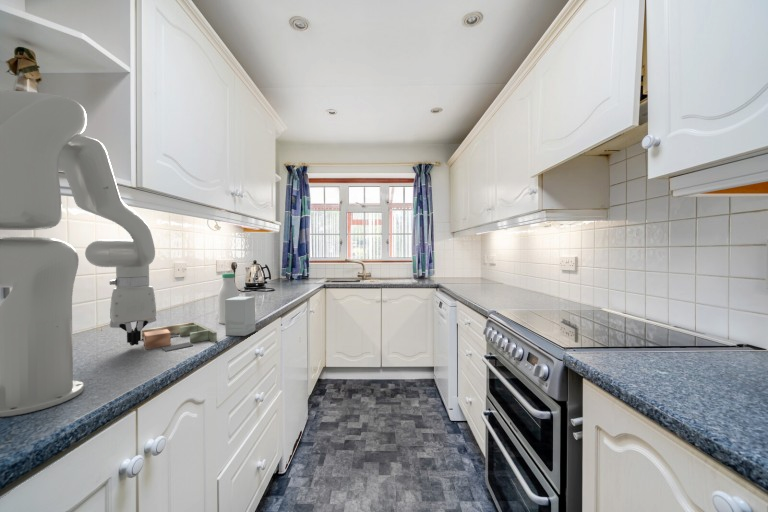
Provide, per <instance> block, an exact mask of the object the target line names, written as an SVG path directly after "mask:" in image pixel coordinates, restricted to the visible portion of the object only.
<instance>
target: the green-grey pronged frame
mask: <svg viewBox="0 0 768 512" xmlns="http://www.w3.org/2000/svg"><path fill="white" fill-rule="evenodd" d="M164 329H168V330H169V332H170V334H174V333H175V334H177V335H178V334H179V336H180V337H187V336H189V343H191V344H192V343H197V342H203V341H210V342H212V343H216V342H217V341H218V337H217V336H218V335H217V333H218V332H217V331H215V330H213V329H211V328H209V327H208V326H207V327H206V326H204V325H203V324H200V323H198V322H191V321H190V322H187V323H177V324H173V325H167V326H166V325H165V326H159V327H151V328H147V329H146V328H145V329H142V330H141V340H142V339H143V340H144V332H150V331H157V330H164Z"/></svg>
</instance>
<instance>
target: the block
mask: <svg viewBox="0 0 768 512" xmlns="http://www.w3.org/2000/svg"><path fill="white" fill-rule="evenodd" d="M144 345H145V346H144ZM143 346H144V348H145V350H148V348H149V349H154V348H153V347H155V348H160V346H161V347H167V346H172V345H171V338H170V332H169V330H168V329H164V330H157V331H150V332H144V339H143Z"/></svg>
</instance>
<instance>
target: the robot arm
mask: <svg viewBox="0 0 768 512" xmlns="http://www.w3.org/2000/svg"><path fill="white" fill-rule="evenodd" d="M87 122H88V117H87V113H86V110H85V108H84V107H83V105H82V104H80V103H79V102H78V101H76V100H75V99H73V98H70V97H67V96H63V95H59V94H53V93H46V92H37V91H36V92H35V91H27V90H26V91H25V90H12V89H11V90H10V89H3V88H0V231H38V230H39V231H41V230H47V229H52V228H54V227H56V226H57V225H58V224H59V223H61V220H62V216H63V204H62V203H63V202H62V194H61V193H62V192H61V184H60V175H59V172H62V173H64V175H65V178H66V180H67V183H68V186H69V188H70V190H71V194H72V197H73V199H74V203H75V204H76V207H78V208H79V209H81V210H84V211H85V212H88V213H91V214H94V215H96V216H99V217H101V218H104V219H106V220H109V221H111V222H113V223H115V224H117V225H118V226H120V227H122V228H123V229H124V230H126V232H127V233H128V234H129V236H130V237H131V239H122V238H121V239H97V240H95V241H92V242H90V243H89V244H88V245H87V247H86V248H85V252H84V255H85V258H86V260H87V261H88V263H89V264H91V265H93V266H96V267H99V268H115V272H116V273H115V278H114V279H110V280H109V285H111V286H112V285H113V286H115V288H113V289H112V293H111V300H110V309H109V311H110V312H109V314H110V316H109V317H110V322H109V327H110V328H113V329H115V328H116V329H117V328H118V329H121V330H124V331H125V332H126V343H127V344H128V343H129V345H130V346H131V347H132V346H134V345H136V346H137V345H139V341H140V342H141V341H142V330H144V328H145V327H146V326H147V325H148V324H152V323H154V322H156V321H157V303H156V296H155V291H154V286H153V285H150V264H153V261H155V257H156V256H155V255H156V248H155V242H154V239H153V235H152V231H151V228H150V227H149V225H148V223H147V222H146V221H145V220H144V219H143V217H141V215H139V214H138V213H137V212H136V211H135V210H134V209H133V208H131V207H130V206H129V205H127V204H126V203H125V202H124V201H123V200H122V198H121V195H120V192H119V191H120V190H119V188H118V185H117V182H116V179H115V175H114V170H113V167H112V164H111V160H110V158H109V155H108V151H107V149H106V147H105V145H104V144H103V143H102V142H101V141H99V140H98V139H95V138H93V137H90V136H86V135H81V134H82V133H83V132H85V130H86V127H87ZM78 268H79V255H78V252H77V250H76V248H74V247H73V246H72V245H71V244H70V243H67V242H66V241H63V240H60V239H57V238H53V237H52V238H51V237H40V236H39V237H38V236H36V237H35V236H32V237H31V236H8V237H7V236H2V237H1V236H0V288H12V289H11V290H10V292H9V293H8V295H7V296H6V297H5V298H4V299H3V301H2V302H1V303H0V418H4V417H13V416H18V415H24V414H28V413H33V412H37V411H40V410H44V409H47V408H50V407H54V406H57V405H61V404H63V403H65V402H68V401H69V400H71V399H73V398H75V397H77V396H78V395H79V396H80V394H82V392H83V391H84V389H85V388H84V387H85V384H84V382H82V381H80V380H79V381H78V380H74V363H73V362H74V360H73V359H74V356H73V353H74V349H73V348H74V347H73V346H74V345H73V341H74V339H73V291H74V284H75V280H76V276H77V273H78ZM132 323H135V327H134V329H133V328H132Z"/></svg>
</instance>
